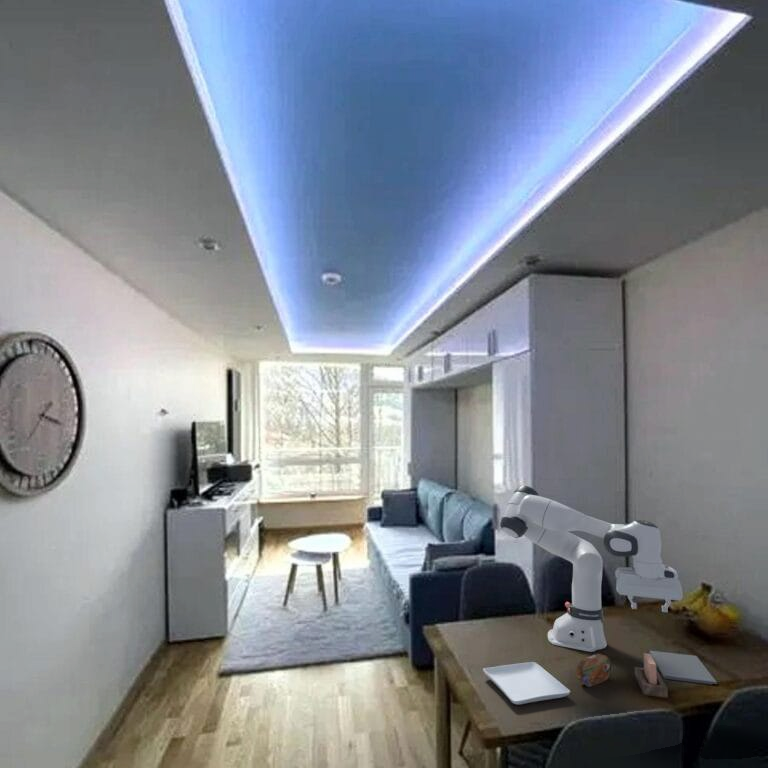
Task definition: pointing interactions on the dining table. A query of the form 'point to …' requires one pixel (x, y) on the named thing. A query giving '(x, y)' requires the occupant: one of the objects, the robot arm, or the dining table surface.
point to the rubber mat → (682, 667)
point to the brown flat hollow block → (651, 689)
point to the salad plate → (526, 682)
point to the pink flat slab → (649, 669)
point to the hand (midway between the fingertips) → (649, 610)
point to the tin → (594, 669)
